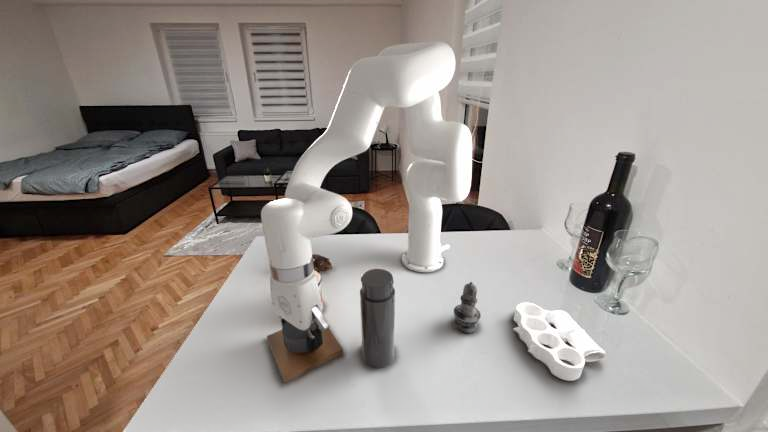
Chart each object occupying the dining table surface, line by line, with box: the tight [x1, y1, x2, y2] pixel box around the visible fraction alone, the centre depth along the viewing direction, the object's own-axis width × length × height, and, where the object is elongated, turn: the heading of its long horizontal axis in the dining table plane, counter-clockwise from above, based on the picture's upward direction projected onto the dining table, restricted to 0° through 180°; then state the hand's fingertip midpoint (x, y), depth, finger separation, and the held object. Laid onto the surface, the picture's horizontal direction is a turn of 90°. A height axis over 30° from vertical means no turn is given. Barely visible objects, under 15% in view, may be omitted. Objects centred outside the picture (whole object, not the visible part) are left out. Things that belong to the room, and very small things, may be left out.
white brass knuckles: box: [512, 302, 607, 382], centre depth 64 cm, size 3×18×15 cm
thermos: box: [359, 268, 396, 369], centre depth 58 cm, size 6×6×19 cm
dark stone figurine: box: [453, 281, 482, 335], centre depth 67 cm, size 6×6×12 cm
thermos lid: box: [281, 317, 317, 353], centre depth 62 cm, size 7×7×4 cm
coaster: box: [266, 327, 344, 384], centre depth 63 cm, size 12×12×2 cm
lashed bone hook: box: [312, 253, 333, 272], centre depth 90 cm, size 9×5×18 cm
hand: (302, 338), depth 62 cm, fingers closed on thermos lid, 7 cm apart
